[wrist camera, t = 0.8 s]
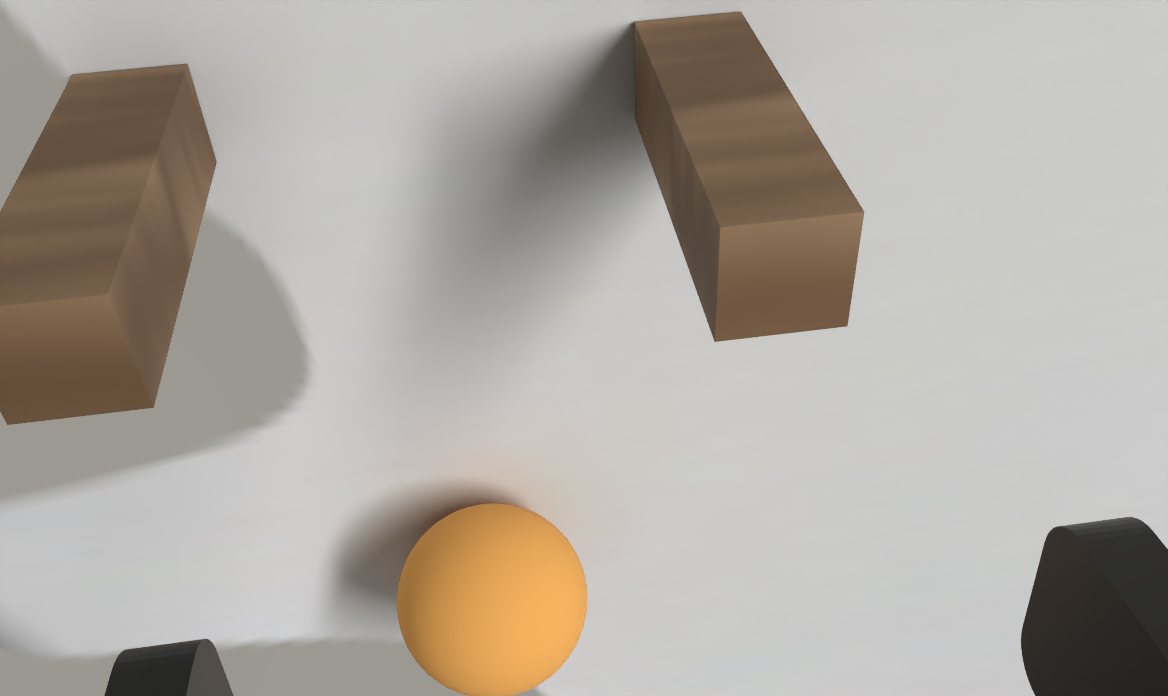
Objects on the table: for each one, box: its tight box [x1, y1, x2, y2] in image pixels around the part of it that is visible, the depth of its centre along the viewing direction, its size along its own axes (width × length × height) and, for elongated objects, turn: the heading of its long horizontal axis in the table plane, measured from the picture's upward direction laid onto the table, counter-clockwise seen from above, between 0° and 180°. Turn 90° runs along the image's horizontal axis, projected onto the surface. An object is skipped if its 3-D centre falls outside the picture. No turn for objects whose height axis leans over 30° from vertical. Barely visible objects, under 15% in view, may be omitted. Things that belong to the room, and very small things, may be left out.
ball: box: [397, 503, 587, 696], centre depth 34 cm, size 6×6×6 cm
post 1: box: [0, 64, 216, 425], centre depth 22 cm, size 3×3×9 cm
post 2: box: [634, 12, 864, 342], centre depth 23 cm, size 3×3×9 cm
